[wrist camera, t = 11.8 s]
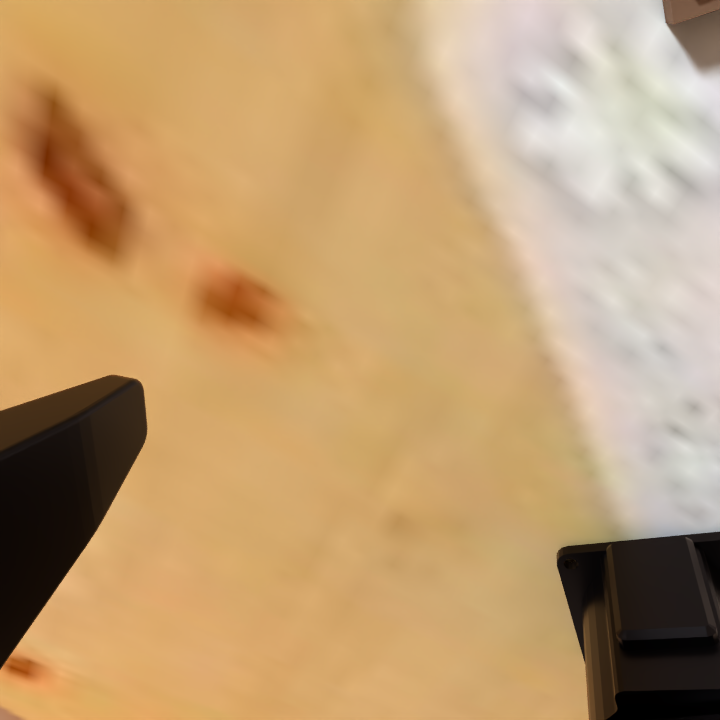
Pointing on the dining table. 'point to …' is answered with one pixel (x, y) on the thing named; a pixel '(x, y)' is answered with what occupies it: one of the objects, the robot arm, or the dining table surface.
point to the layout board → (687, 9)
